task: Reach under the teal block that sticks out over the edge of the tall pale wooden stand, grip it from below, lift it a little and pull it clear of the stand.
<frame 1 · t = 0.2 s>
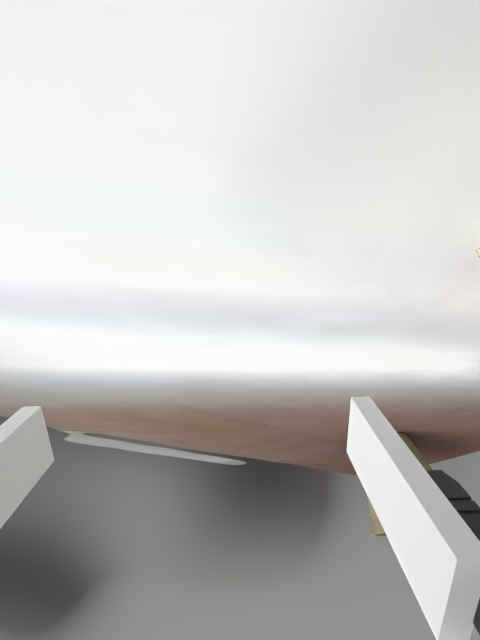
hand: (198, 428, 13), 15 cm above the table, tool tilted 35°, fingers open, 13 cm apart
plant pot: (387, 437, 63), on the table
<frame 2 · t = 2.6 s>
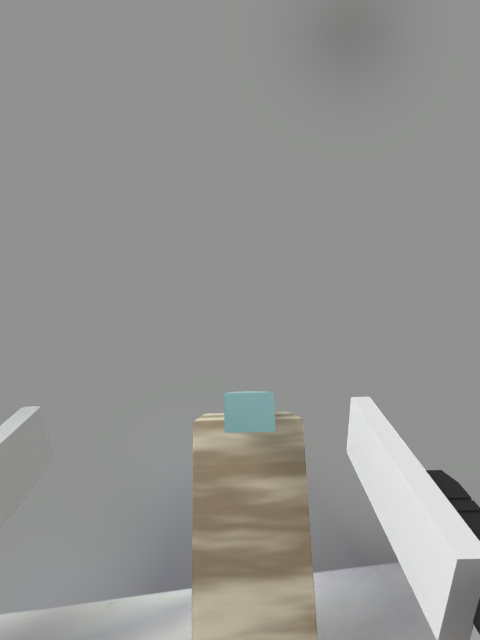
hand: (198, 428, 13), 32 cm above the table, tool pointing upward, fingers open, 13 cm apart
teal block: (247, 417, 37), point 30 cm above the table, touching wooden stand
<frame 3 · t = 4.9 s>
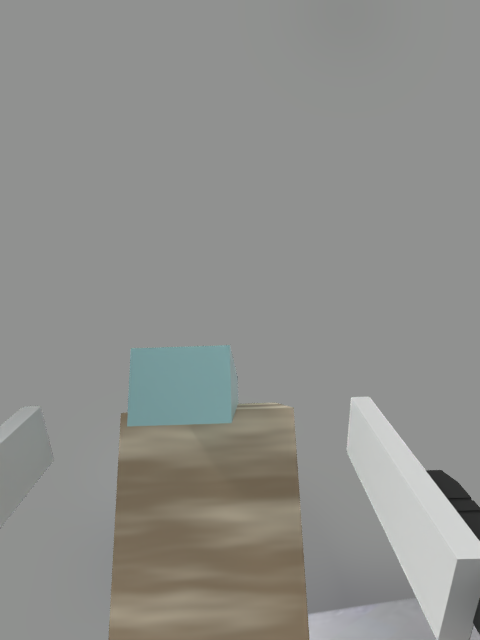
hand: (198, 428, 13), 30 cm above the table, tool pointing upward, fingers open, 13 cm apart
teal block: (211, 408, 25), point 30 cm above the table, touching wooden stand
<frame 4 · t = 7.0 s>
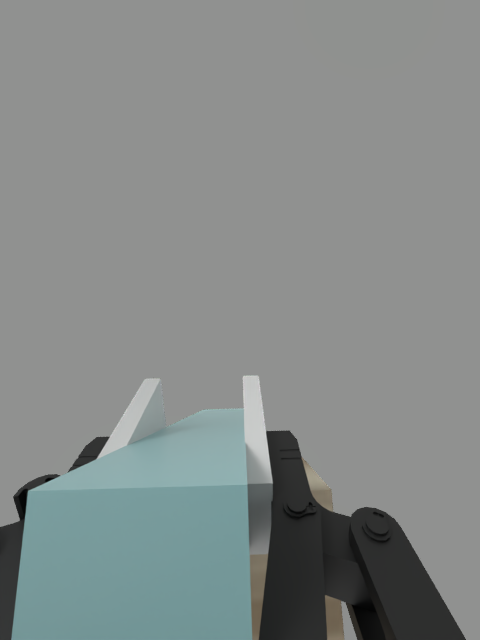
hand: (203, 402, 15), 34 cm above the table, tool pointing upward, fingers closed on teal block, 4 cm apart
teal block: (211, 476, 18), point 30 cm above the table, touching gripper, wooden stand
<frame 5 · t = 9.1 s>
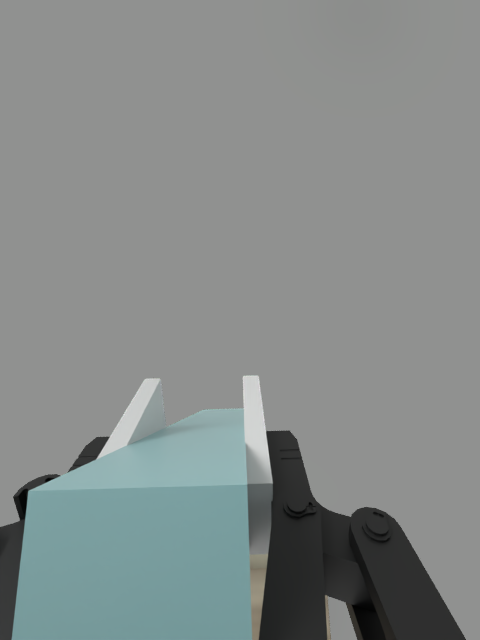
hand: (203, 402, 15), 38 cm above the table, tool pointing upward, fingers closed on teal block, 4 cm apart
teal block: (211, 476, 18), point 34 cm above the table, touching gripper
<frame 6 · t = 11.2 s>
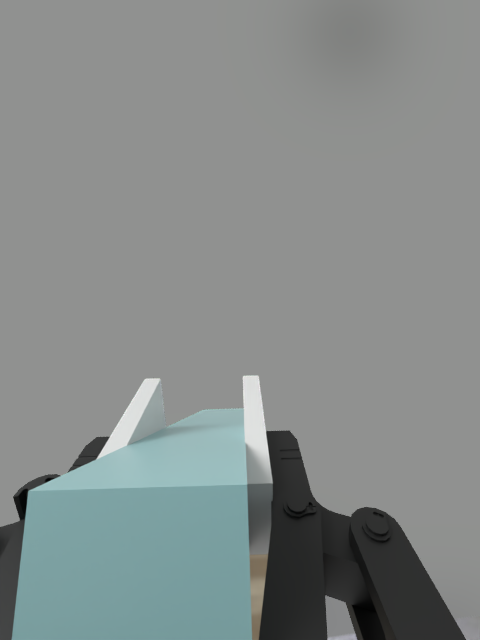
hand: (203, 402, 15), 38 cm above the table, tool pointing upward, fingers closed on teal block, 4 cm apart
teal block: (211, 476, 18), point 34 cm above the table, touching gripper
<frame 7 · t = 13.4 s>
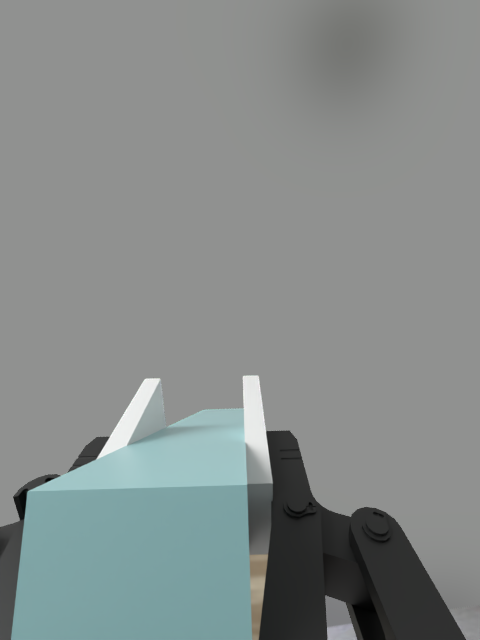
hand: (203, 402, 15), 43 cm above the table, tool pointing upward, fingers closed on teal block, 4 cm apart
teal block: (211, 476, 18), point 38 cm above the table, touching gripper
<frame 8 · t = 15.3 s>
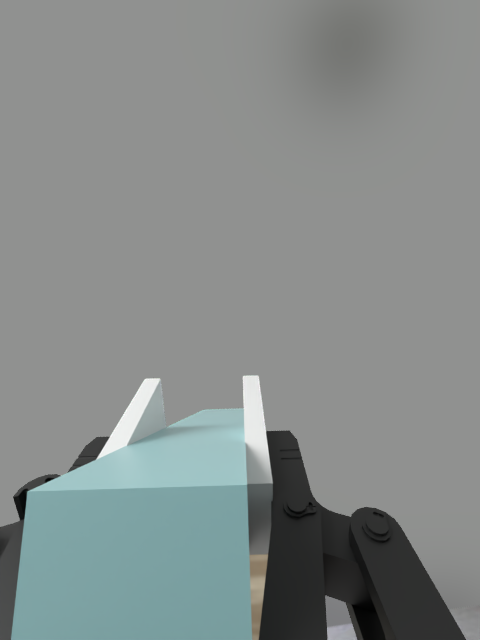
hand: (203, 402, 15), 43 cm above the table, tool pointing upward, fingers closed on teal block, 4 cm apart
teal block: (211, 476, 18), point 38 cm above the table, touching gripper
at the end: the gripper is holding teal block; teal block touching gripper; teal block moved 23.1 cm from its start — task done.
